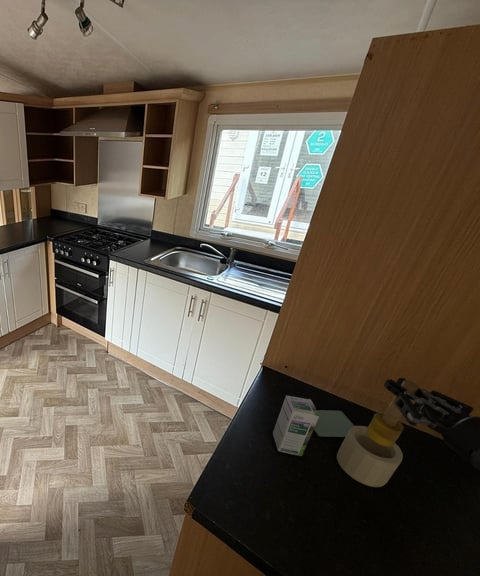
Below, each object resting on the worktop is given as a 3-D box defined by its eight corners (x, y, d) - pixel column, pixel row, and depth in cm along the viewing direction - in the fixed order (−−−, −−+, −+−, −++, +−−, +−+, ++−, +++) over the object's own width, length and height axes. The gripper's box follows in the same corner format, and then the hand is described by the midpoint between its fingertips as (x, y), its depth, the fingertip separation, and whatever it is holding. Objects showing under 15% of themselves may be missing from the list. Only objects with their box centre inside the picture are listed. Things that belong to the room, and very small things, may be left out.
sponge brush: (382, 428, 74) (412, 376, 67) (400, 447, 69) (434, 393, 62) (360, 427, 74) (389, 375, 67) (377, 446, 69) (409, 392, 62)
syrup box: (277, 452, 80) (293, 412, 74) (271, 433, 86) (286, 394, 79) (302, 457, 79) (320, 416, 73) (294, 437, 84) (311, 398, 78)
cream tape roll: (365, 450, 81) (379, 426, 77) (397, 488, 72) (414, 463, 68) (327, 449, 81) (339, 425, 77) (354, 487, 73) (369, 462, 69)
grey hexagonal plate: (340, 411, 92) (341, 410, 92) (363, 438, 84) (363, 437, 84) (299, 410, 93) (300, 409, 92) (318, 437, 85) (319, 436, 84)
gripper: (540, 432, 52) (427, 364, 67) (472, 443, 50) (371, 371, 65) (513, 461, 55) (411, 390, 71) (449, 473, 53) (358, 397, 69)
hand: (392, 381), depth 68 cm, fingers closed on sponge brush, 2 cm apart
